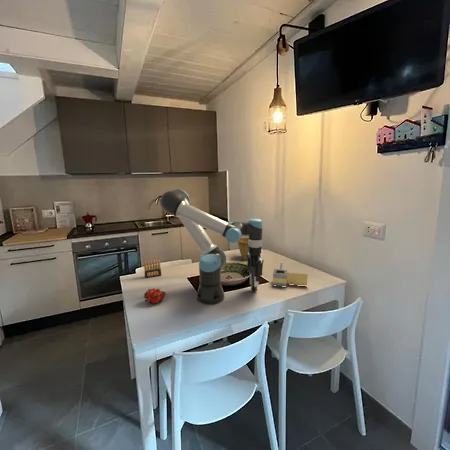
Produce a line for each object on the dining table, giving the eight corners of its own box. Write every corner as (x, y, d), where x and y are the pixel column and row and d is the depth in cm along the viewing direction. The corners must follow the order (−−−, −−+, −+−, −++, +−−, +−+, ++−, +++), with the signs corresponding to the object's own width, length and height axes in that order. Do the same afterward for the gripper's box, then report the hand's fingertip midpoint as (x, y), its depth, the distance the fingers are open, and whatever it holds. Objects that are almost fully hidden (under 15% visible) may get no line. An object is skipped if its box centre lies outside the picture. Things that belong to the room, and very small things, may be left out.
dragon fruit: (142, 306, 141) (165, 305, 146) (144, 303, 134) (168, 302, 139) (142, 290, 145) (165, 289, 149) (144, 286, 138) (167, 286, 142)
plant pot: (247, 255, 222) (247, 236, 219) (260, 259, 211) (260, 239, 208) (233, 258, 213) (233, 239, 210) (246, 263, 202) (247, 243, 198)
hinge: (306, 289, 157) (307, 276, 156) (272, 286, 162) (273, 273, 161) (305, 276, 176) (306, 265, 175) (275, 274, 181) (275, 262, 180)
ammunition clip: (160, 274, 180) (160, 257, 178) (161, 275, 178) (160, 258, 176) (144, 277, 176) (143, 260, 173) (145, 278, 174) (143, 261, 172)
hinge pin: (256, 292, 154) (257, 267, 151) (250, 291, 155) (251, 267, 152) (257, 289, 158) (258, 265, 155) (251, 288, 158) (252, 264, 155)
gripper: (269, 248, 146) (268, 288, 150) (251, 241, 160) (251, 278, 164) (258, 250, 142) (257, 291, 147) (241, 243, 156) (241, 281, 161)
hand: (254, 284), depth 156 cm, fingers closed on hinge pin, 3 cm apart
